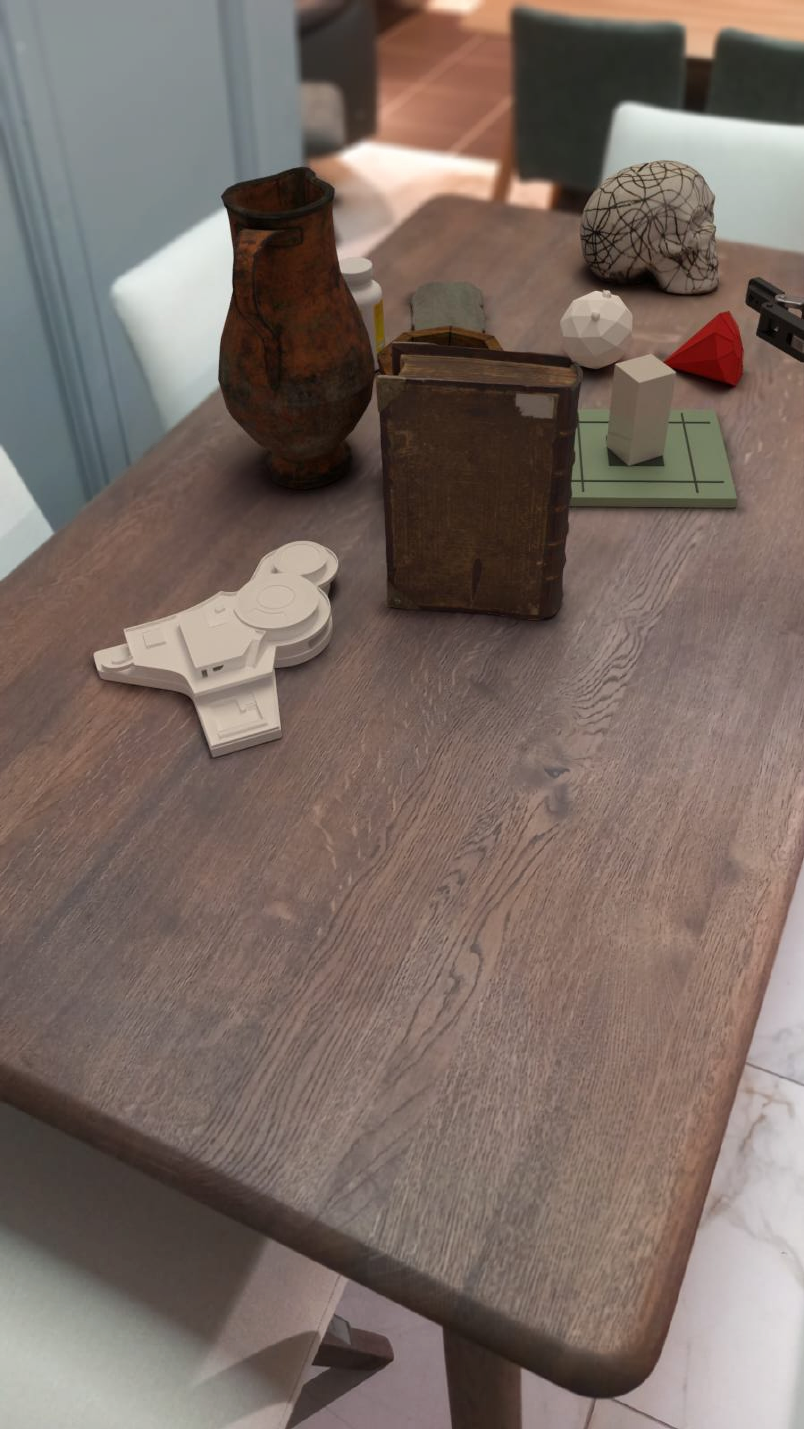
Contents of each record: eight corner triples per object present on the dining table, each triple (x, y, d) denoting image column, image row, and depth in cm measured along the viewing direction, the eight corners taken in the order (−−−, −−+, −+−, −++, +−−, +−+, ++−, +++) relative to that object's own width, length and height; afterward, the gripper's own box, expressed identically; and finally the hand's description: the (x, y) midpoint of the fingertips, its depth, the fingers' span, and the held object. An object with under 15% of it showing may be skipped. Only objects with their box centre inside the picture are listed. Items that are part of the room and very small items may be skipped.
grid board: (713, 418, 129) (715, 408, 128) (735, 508, 116) (737, 497, 115) (542, 417, 130) (542, 407, 129) (545, 506, 118) (545, 495, 117)
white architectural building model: (84, 620, 107) (72, 584, 104) (327, 557, 113) (323, 521, 110) (127, 782, 92) (115, 746, 89) (405, 701, 98) (403, 664, 94)
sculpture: (666, 317, 147) (683, 201, 136) (555, 273, 157) (562, 162, 147) (735, 280, 153) (755, 167, 143) (623, 241, 164) (635, 133, 153)
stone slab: (479, 299, 155) (409, 293, 154) (482, 280, 153) (411, 274, 152) (489, 380, 139) (411, 374, 139) (493, 360, 137) (414, 354, 137)
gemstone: (640, 375, 133) (719, 357, 127) (649, 314, 136) (728, 294, 130) (670, 414, 140) (747, 399, 134) (678, 356, 142) (754, 338, 136)
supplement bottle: (373, 347, 144) (368, 249, 135) (394, 369, 140) (390, 269, 131) (326, 359, 142) (317, 260, 133) (346, 381, 138) (338, 281, 129)
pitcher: (395, 428, 130) (382, 159, 108) (352, 535, 115) (327, 250, 94) (261, 418, 133) (222, 154, 111) (202, 521, 118) (145, 240, 97)
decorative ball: (641, 402, 136) (619, 325, 127) (564, 399, 142) (538, 325, 133) (665, 351, 140) (645, 273, 130) (589, 351, 145) (565, 275, 136)
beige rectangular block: (640, 435, 124) (651, 353, 117) (663, 455, 121) (676, 372, 114) (605, 446, 123) (614, 363, 116) (628, 466, 120) (639, 382, 113)
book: (567, 591, 107) (588, 353, 90) (553, 638, 103) (573, 397, 85) (404, 566, 111) (393, 333, 93) (383, 610, 107) (368, 373, 89)
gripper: (1023, 290, 81) (871, 214, 91) (870, 336, 77) (729, 251, 88) (988, 383, 86) (848, 301, 97) (843, 430, 83) (714, 339, 93)
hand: (792, 277), depth 92 cm, fingers open, 8 cm apart
